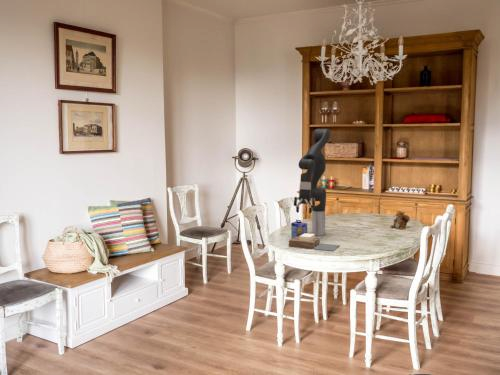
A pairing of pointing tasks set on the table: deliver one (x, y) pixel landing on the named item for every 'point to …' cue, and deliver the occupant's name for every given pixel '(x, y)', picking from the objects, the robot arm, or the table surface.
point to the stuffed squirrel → (400, 220)
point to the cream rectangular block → (307, 237)
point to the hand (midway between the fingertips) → (303, 212)
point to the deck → (303, 243)
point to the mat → (326, 247)
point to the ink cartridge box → (298, 228)
